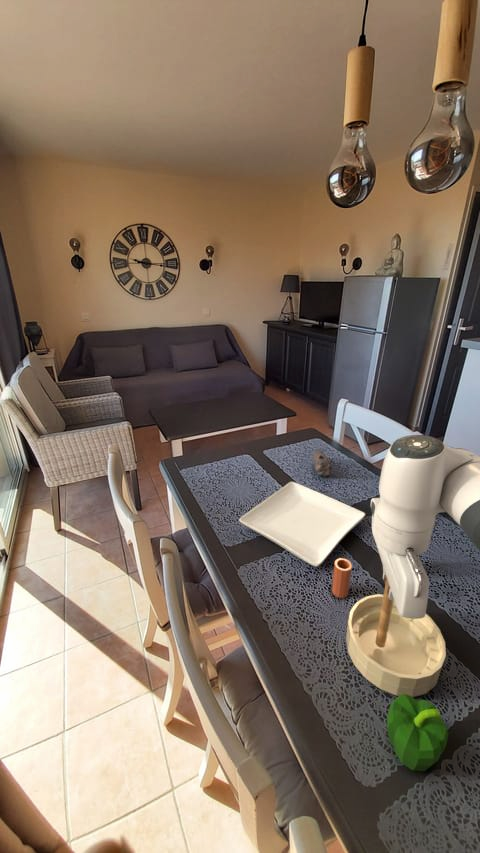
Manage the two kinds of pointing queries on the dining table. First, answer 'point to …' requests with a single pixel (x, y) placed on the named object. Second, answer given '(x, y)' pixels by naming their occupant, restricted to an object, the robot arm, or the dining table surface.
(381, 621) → the stirring stick
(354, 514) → the square plate
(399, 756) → the bell pepper
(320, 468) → the perforated stone tool
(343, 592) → the stick holder
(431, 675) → the bowl
